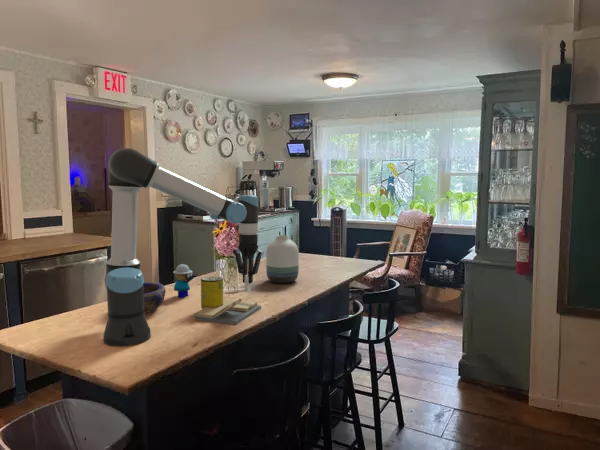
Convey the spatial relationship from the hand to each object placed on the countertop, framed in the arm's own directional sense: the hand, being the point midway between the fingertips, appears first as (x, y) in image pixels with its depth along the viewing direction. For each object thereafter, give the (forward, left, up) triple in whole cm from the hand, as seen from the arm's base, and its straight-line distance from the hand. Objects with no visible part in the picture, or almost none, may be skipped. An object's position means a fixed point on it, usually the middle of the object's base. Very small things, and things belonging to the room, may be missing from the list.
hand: (247, 290), depth 189 cm
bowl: (-14, +41, -9) cm, 44 cm away
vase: (+54, +7, -9) cm, 55 cm away
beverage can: (-4, +14, -8) cm, 17 cm away
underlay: (-6, +6, -9) cm, 12 cm away
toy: (+11, +38, -9) cm, 40 cm away
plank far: (0, +2, -7) cm, 8 cm away
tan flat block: (-12, +2, -5) cm, 13 cm away
